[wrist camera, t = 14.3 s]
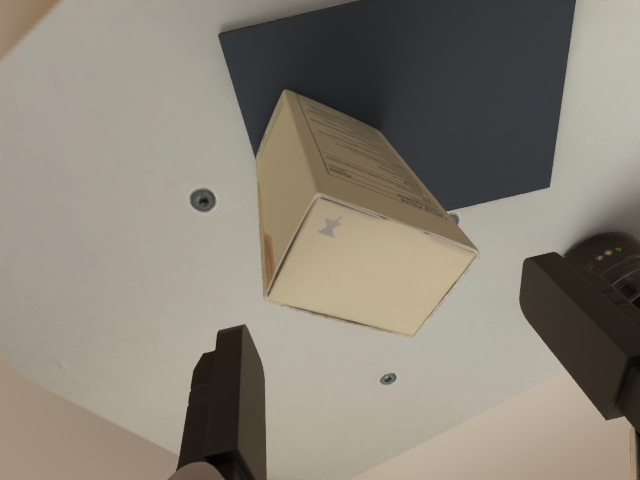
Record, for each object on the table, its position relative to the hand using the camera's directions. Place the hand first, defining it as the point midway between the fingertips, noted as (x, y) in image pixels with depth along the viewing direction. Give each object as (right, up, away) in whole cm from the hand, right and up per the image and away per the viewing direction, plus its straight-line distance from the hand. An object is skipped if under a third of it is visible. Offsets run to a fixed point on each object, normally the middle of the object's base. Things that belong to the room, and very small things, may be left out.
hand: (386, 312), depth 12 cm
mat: (+3, +9, +12) cm, 15 cm away
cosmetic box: (-2, +8, +12) cm, 14 cm away
